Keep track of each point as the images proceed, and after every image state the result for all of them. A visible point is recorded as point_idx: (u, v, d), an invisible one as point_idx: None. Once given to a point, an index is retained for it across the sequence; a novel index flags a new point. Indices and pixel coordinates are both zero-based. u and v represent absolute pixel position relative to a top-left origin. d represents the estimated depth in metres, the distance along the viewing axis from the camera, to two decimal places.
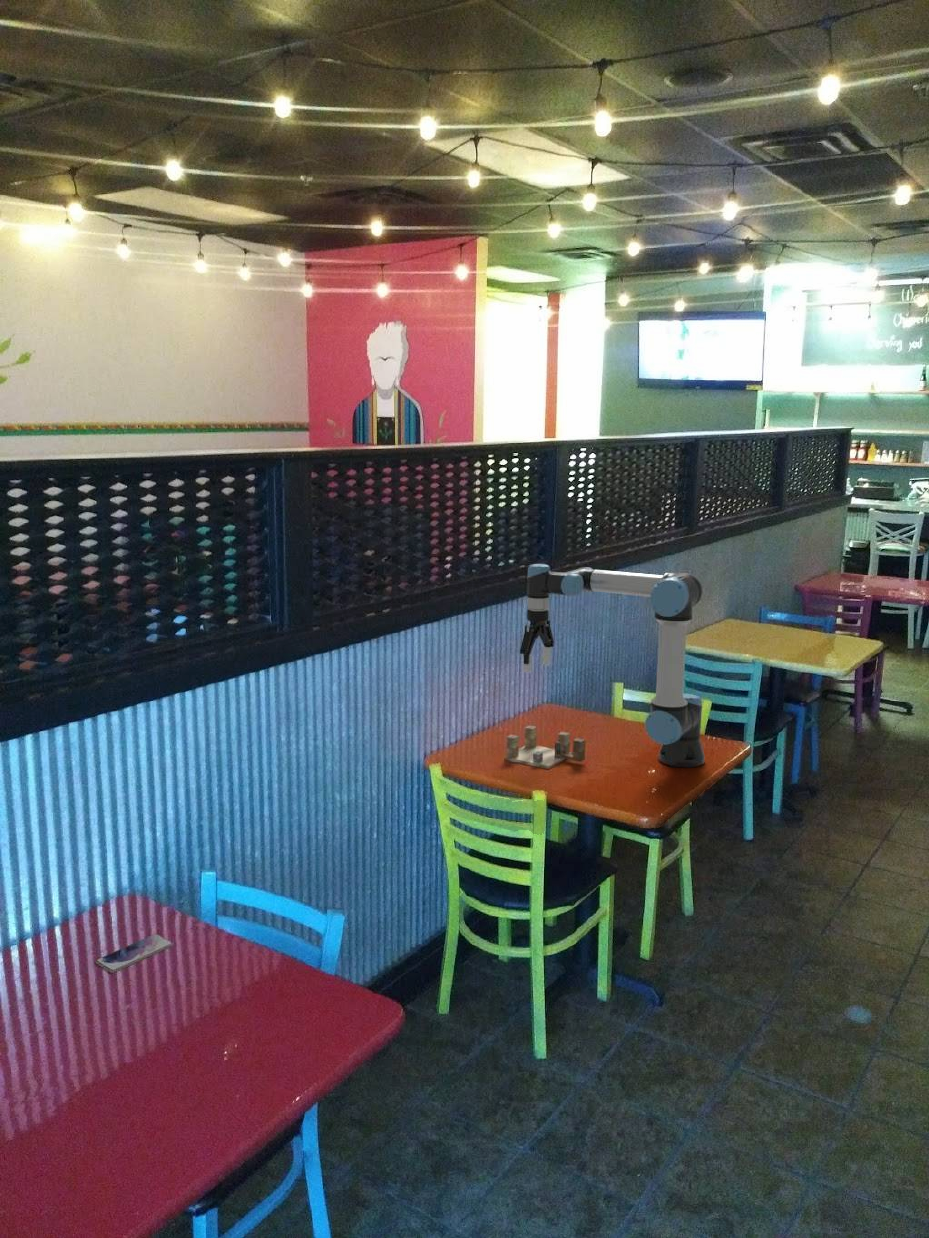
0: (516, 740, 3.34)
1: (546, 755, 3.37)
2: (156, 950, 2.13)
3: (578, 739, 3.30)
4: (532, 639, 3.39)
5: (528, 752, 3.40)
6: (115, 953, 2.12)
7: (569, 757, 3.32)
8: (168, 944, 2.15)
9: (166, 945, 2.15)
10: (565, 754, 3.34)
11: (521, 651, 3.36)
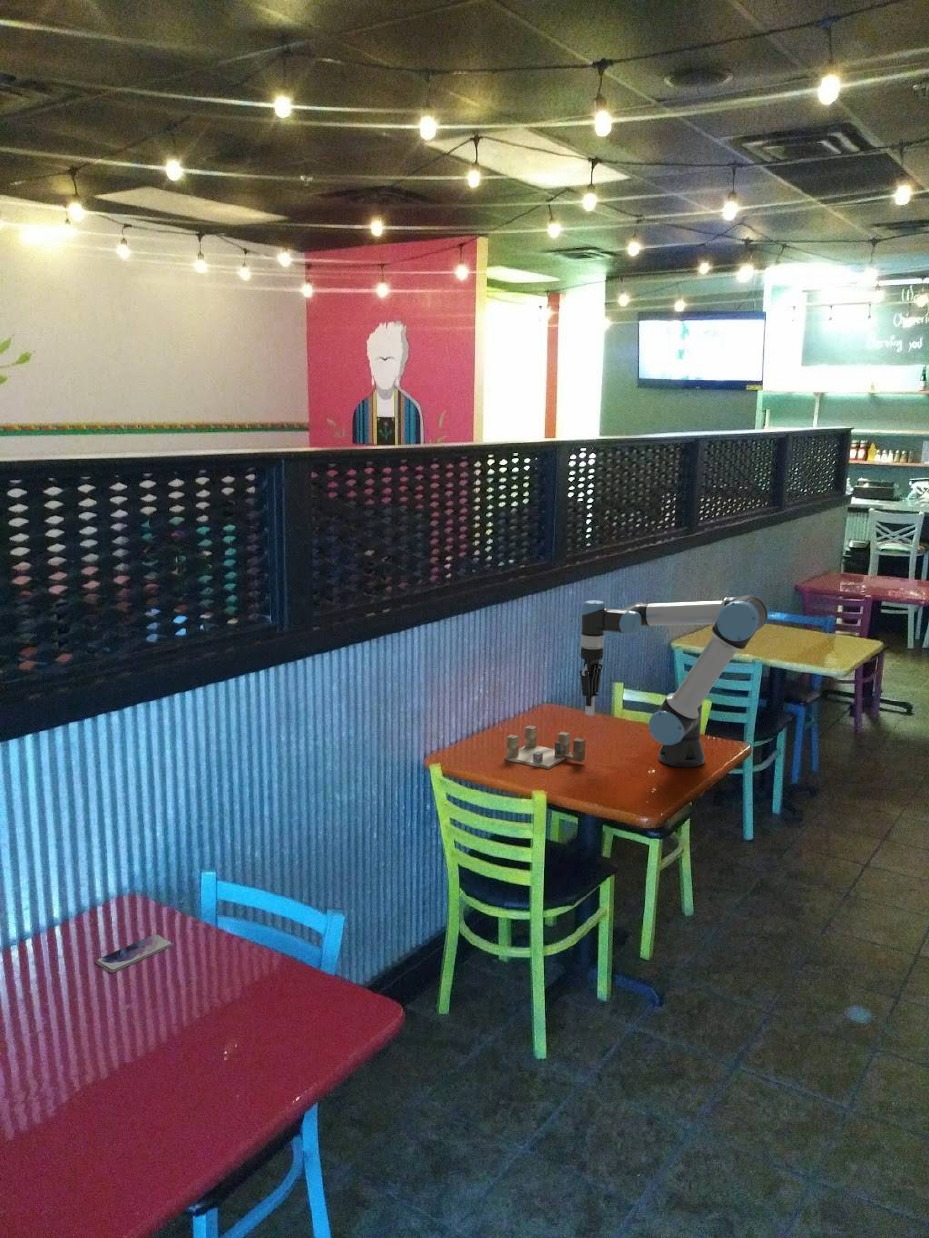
0: (516, 740, 3.34)
1: (546, 755, 3.37)
2: (156, 950, 2.13)
3: (578, 739, 3.30)
4: (590, 681, 3.30)
5: (528, 752, 3.40)
6: (115, 953, 2.12)
7: (569, 757, 3.32)
8: (168, 944, 2.15)
9: (166, 945, 2.15)
10: (565, 754, 3.34)
11: (584, 694, 3.31)
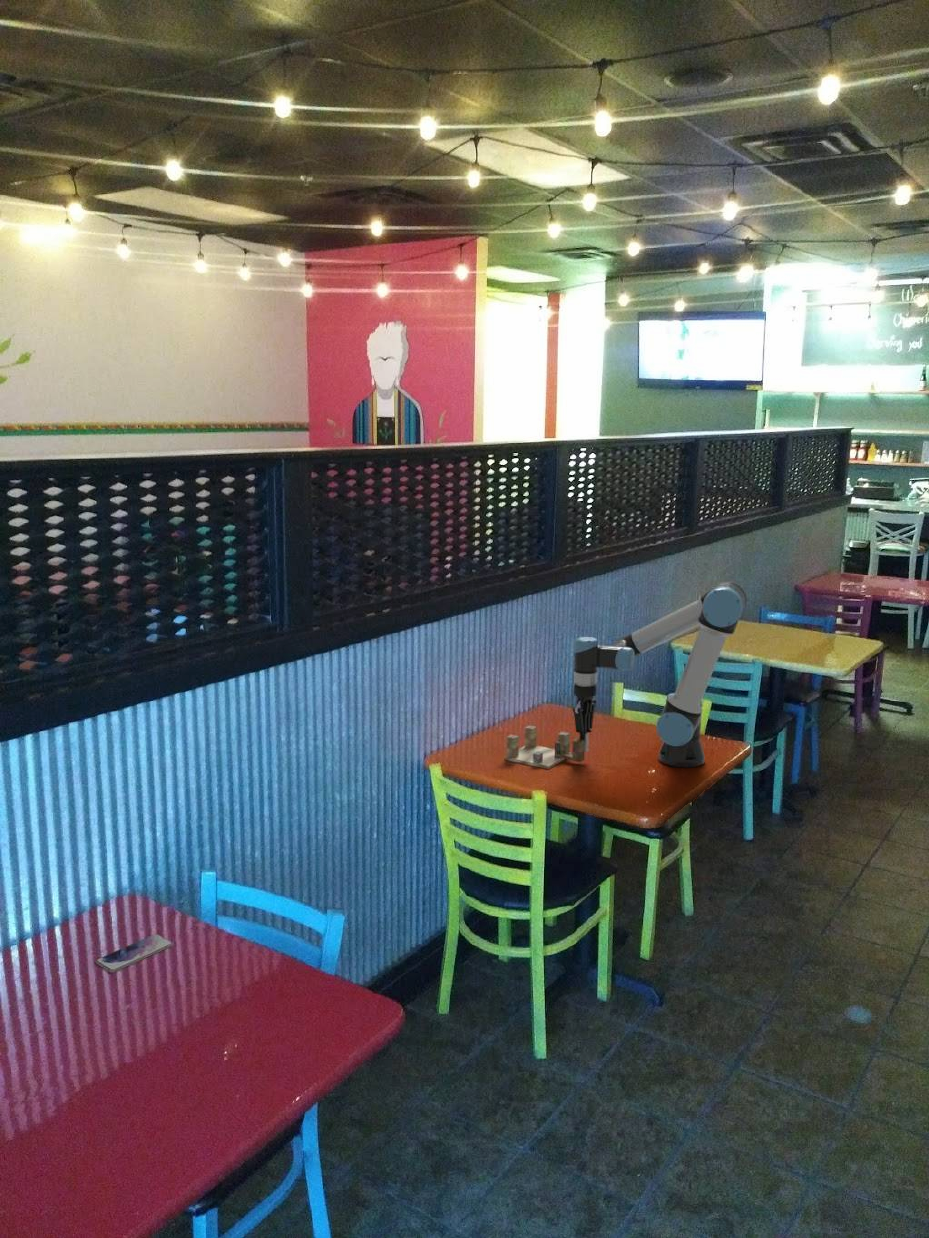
0: (516, 740, 3.34)
1: (546, 755, 3.37)
2: (156, 950, 2.13)
3: (577, 739, 3.30)
4: (583, 717, 3.29)
5: (528, 752, 3.40)
6: (115, 953, 2.12)
7: (569, 757, 3.32)
8: (168, 944, 2.15)
9: (166, 945, 2.15)
10: (565, 754, 3.34)
11: (577, 731, 3.30)
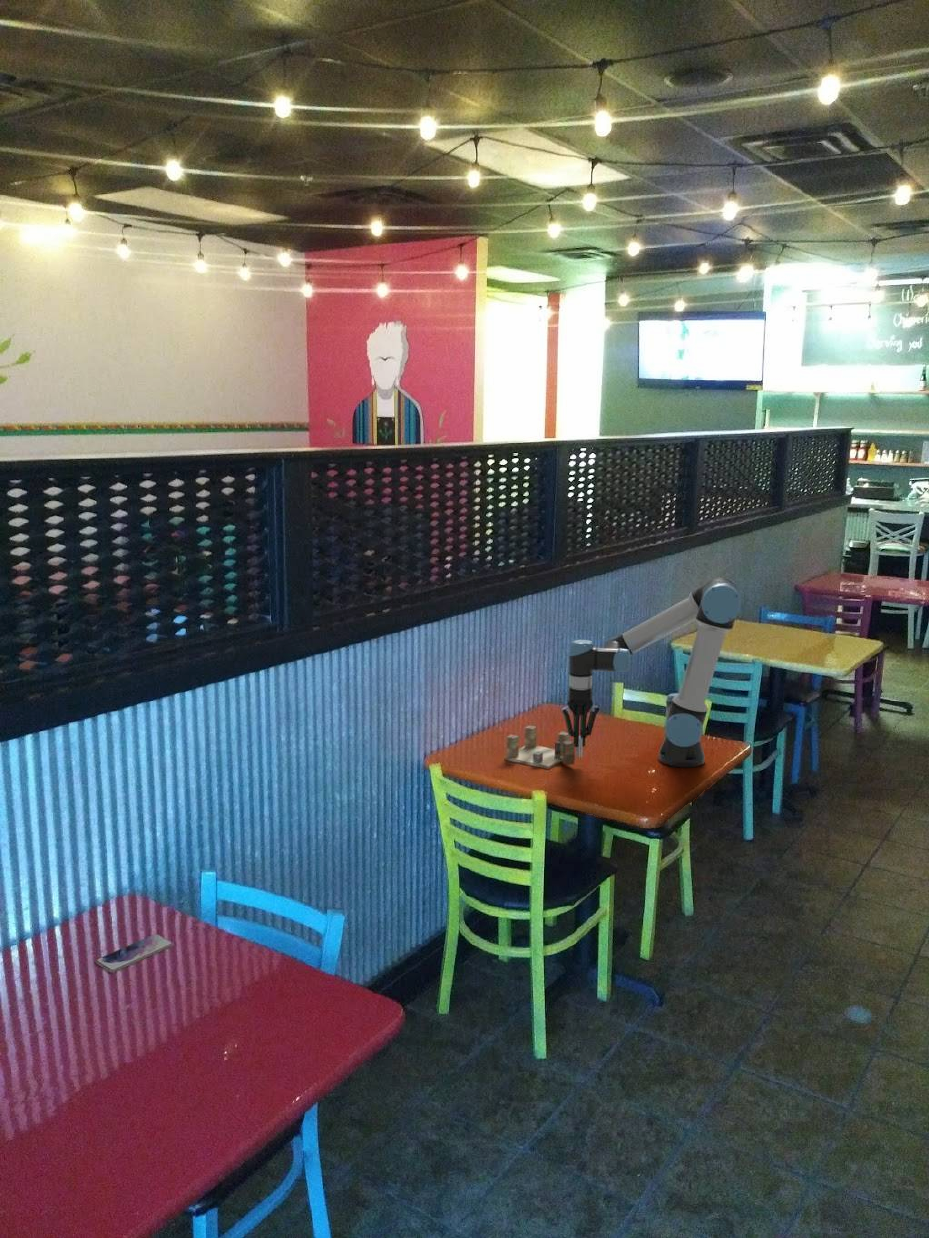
0: (516, 740, 3.34)
1: (546, 755, 3.37)
2: (156, 950, 2.13)
3: (568, 742, 3.27)
4: (575, 721, 3.25)
5: (528, 752, 3.40)
6: (115, 953, 2.12)
7: (561, 758, 3.31)
8: (168, 944, 2.15)
9: (166, 945, 2.15)
10: (561, 755, 3.33)
11: (569, 733, 3.27)
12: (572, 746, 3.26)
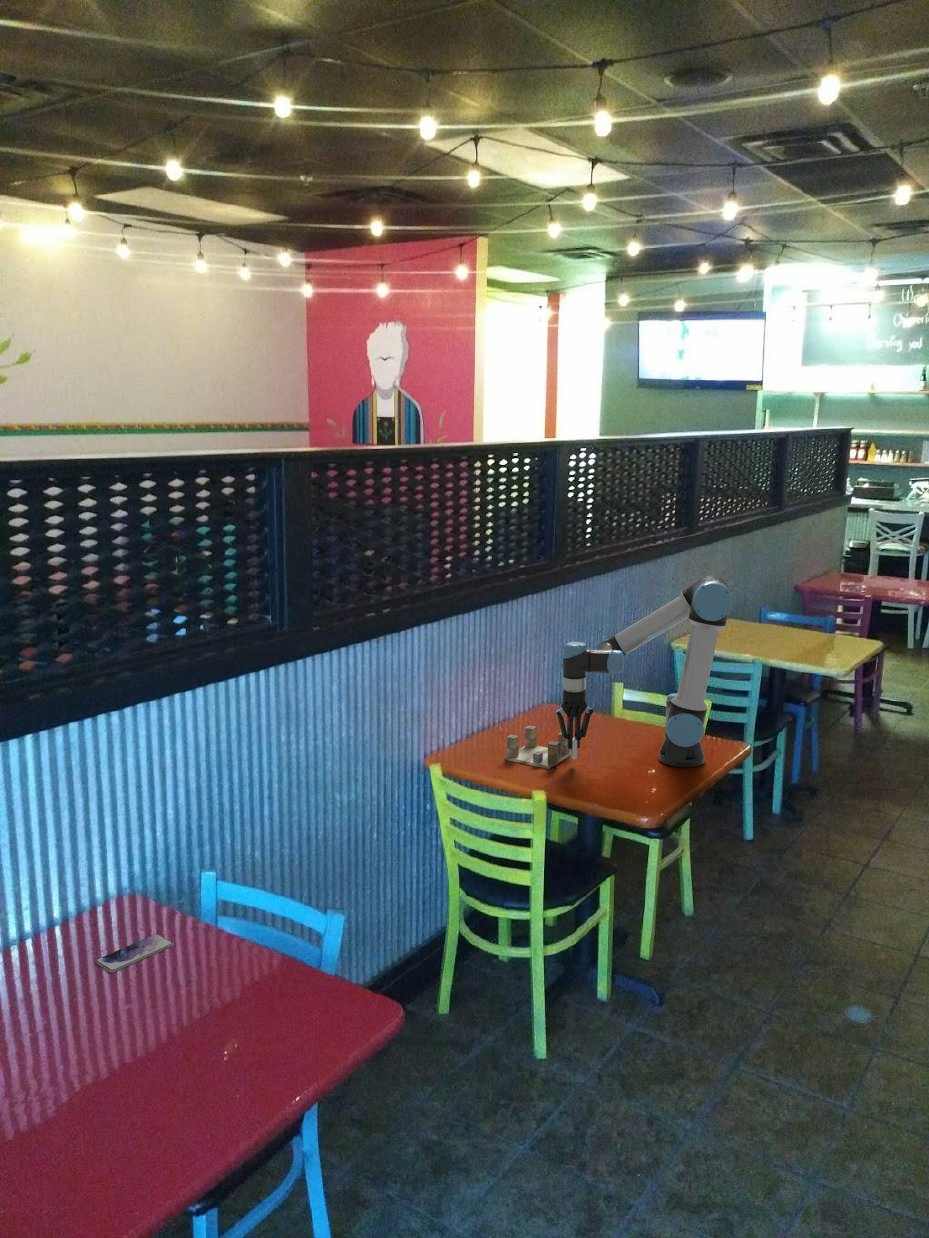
0: (516, 740, 3.34)
1: (546, 755, 3.37)
2: (156, 950, 2.13)
3: (553, 742, 3.27)
4: (569, 723, 3.25)
5: (528, 752, 3.40)
6: (115, 953, 2.12)
7: None
8: (168, 944, 2.15)
9: (166, 945, 2.15)
10: None
11: (562, 735, 3.27)
12: (554, 747, 3.25)
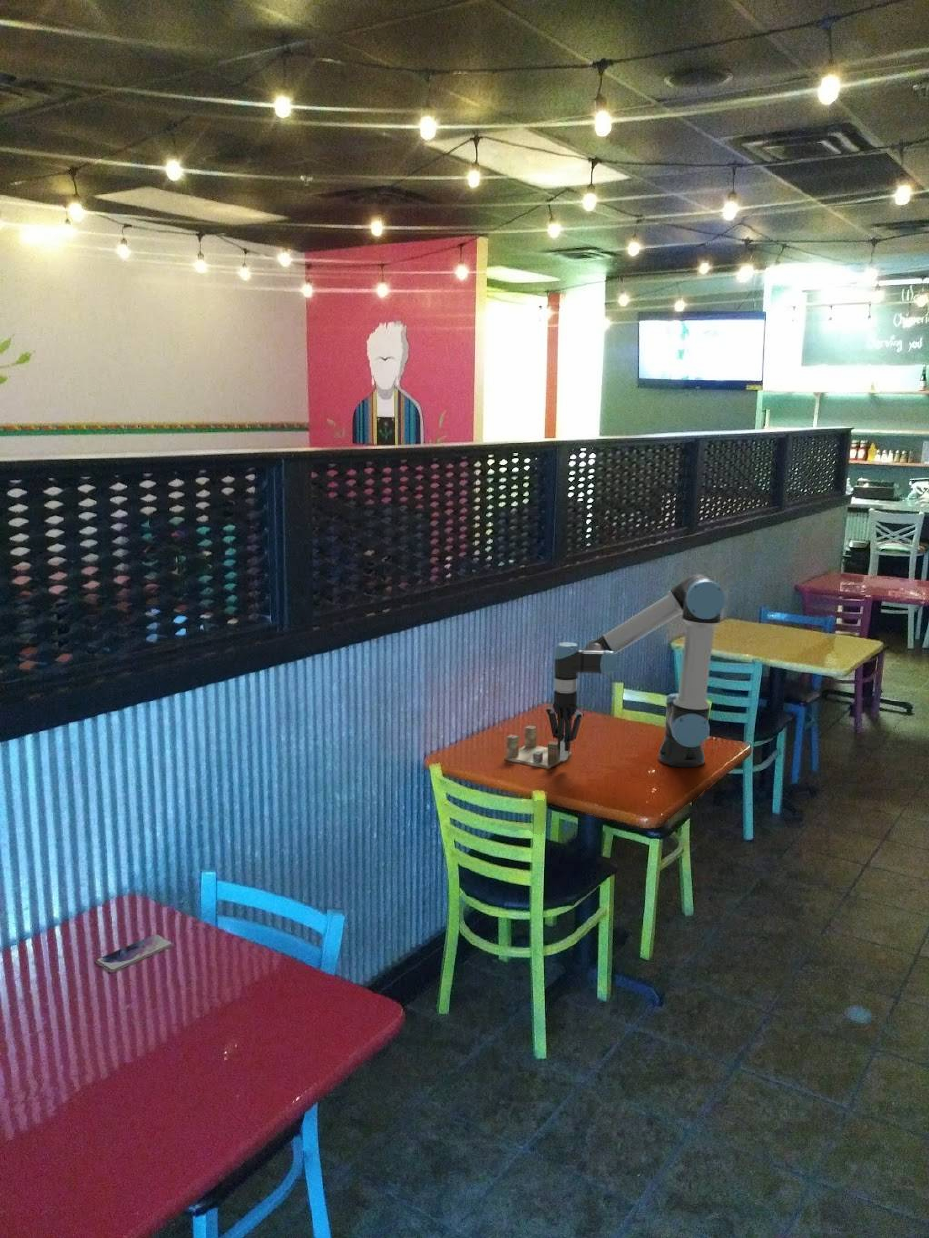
0: (516, 740, 3.34)
1: (546, 755, 3.37)
2: (156, 950, 2.13)
3: (553, 742, 3.27)
4: None
5: (528, 752, 3.40)
6: (115, 953, 2.12)
7: None
8: (168, 944, 2.15)
9: (166, 945, 2.15)
10: None
11: None
12: (554, 747, 3.25)
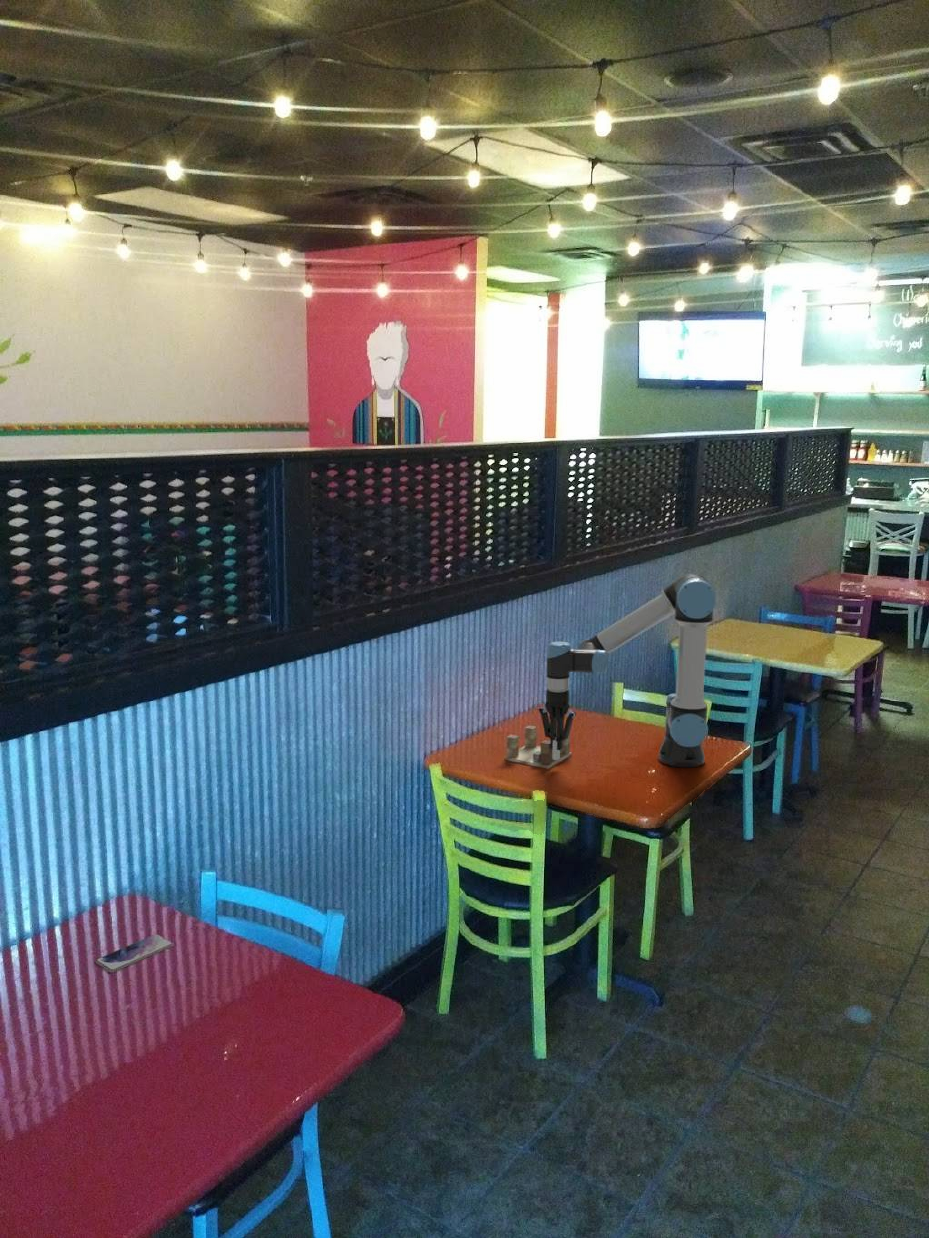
0: (516, 740, 3.34)
1: None
2: (156, 950, 2.13)
3: (547, 741, 3.28)
4: None
5: (528, 752, 3.40)
6: (115, 953, 2.12)
7: None
8: (168, 944, 2.15)
9: (166, 945, 2.15)
10: None
11: None
12: (546, 746, 3.26)
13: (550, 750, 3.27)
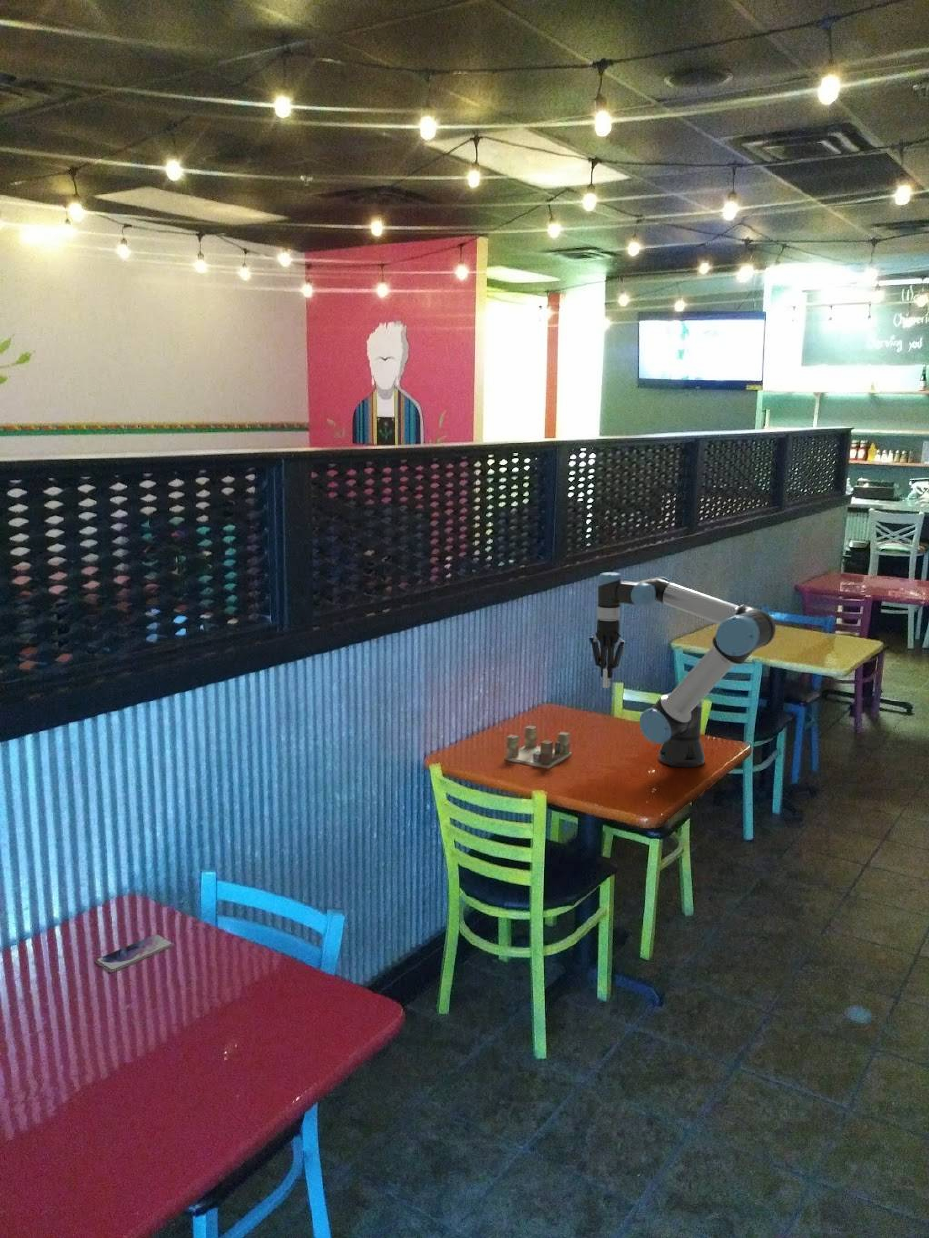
0: (516, 740, 3.34)
1: None
2: (156, 950, 2.13)
3: (547, 741, 3.28)
4: None
5: (528, 752, 3.40)
6: (115, 953, 2.12)
7: None
8: (168, 944, 2.15)
9: (166, 945, 2.15)
10: (553, 755, 3.33)
11: None
12: (546, 746, 3.26)
13: (550, 750, 3.27)
